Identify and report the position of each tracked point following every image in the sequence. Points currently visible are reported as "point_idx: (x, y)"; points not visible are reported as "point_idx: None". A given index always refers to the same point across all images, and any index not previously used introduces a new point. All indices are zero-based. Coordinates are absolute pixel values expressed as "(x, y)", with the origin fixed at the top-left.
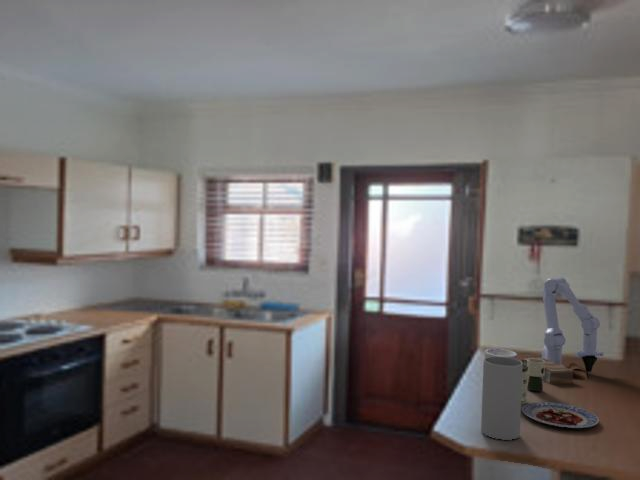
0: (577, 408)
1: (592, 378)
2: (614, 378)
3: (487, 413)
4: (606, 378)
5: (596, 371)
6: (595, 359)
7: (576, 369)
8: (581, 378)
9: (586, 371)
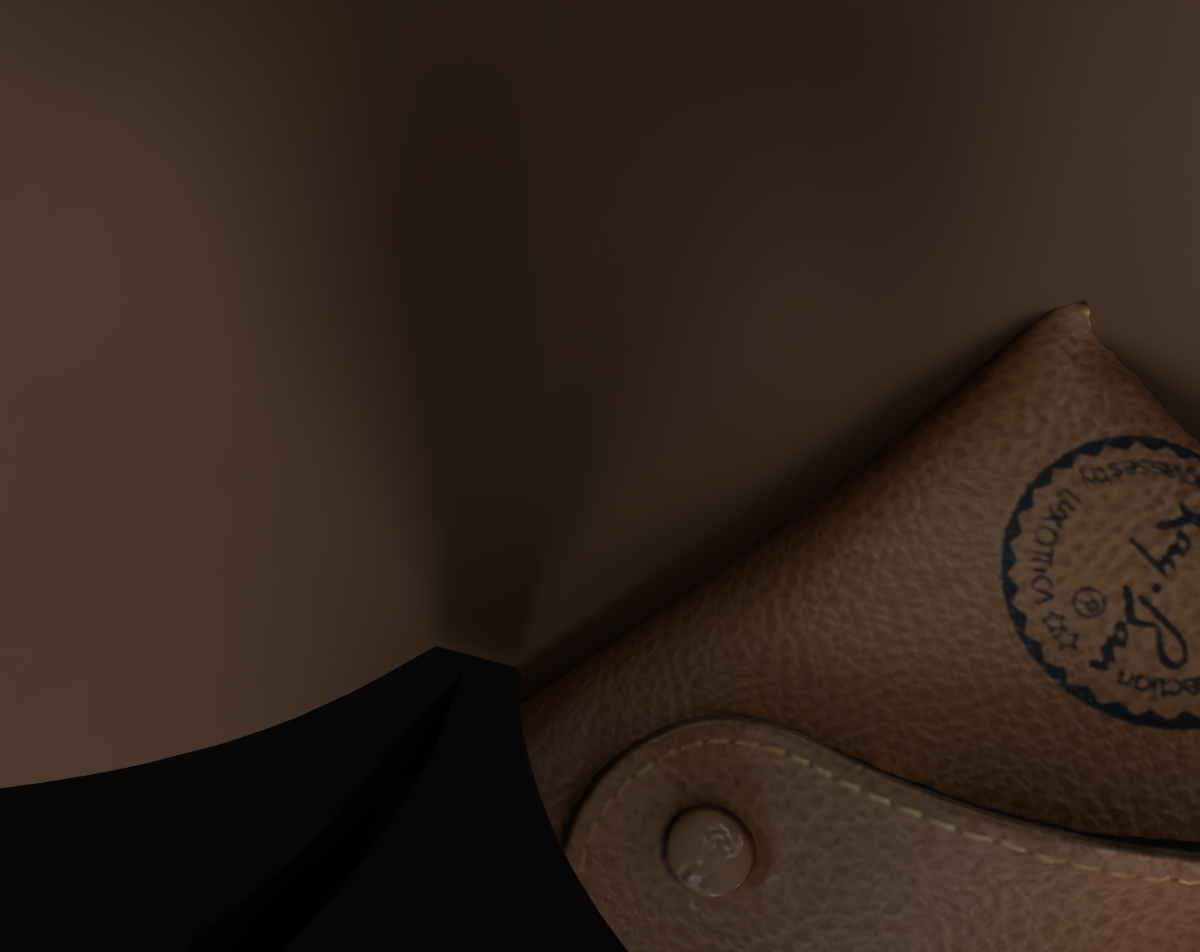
0: None
1: (781, 335)
2: (101, 25)
3: None
4: (353, 140)
5: (24, 743)
6: (26, 846)
7: (1127, 843)
8: (1194, 440)
9: None
